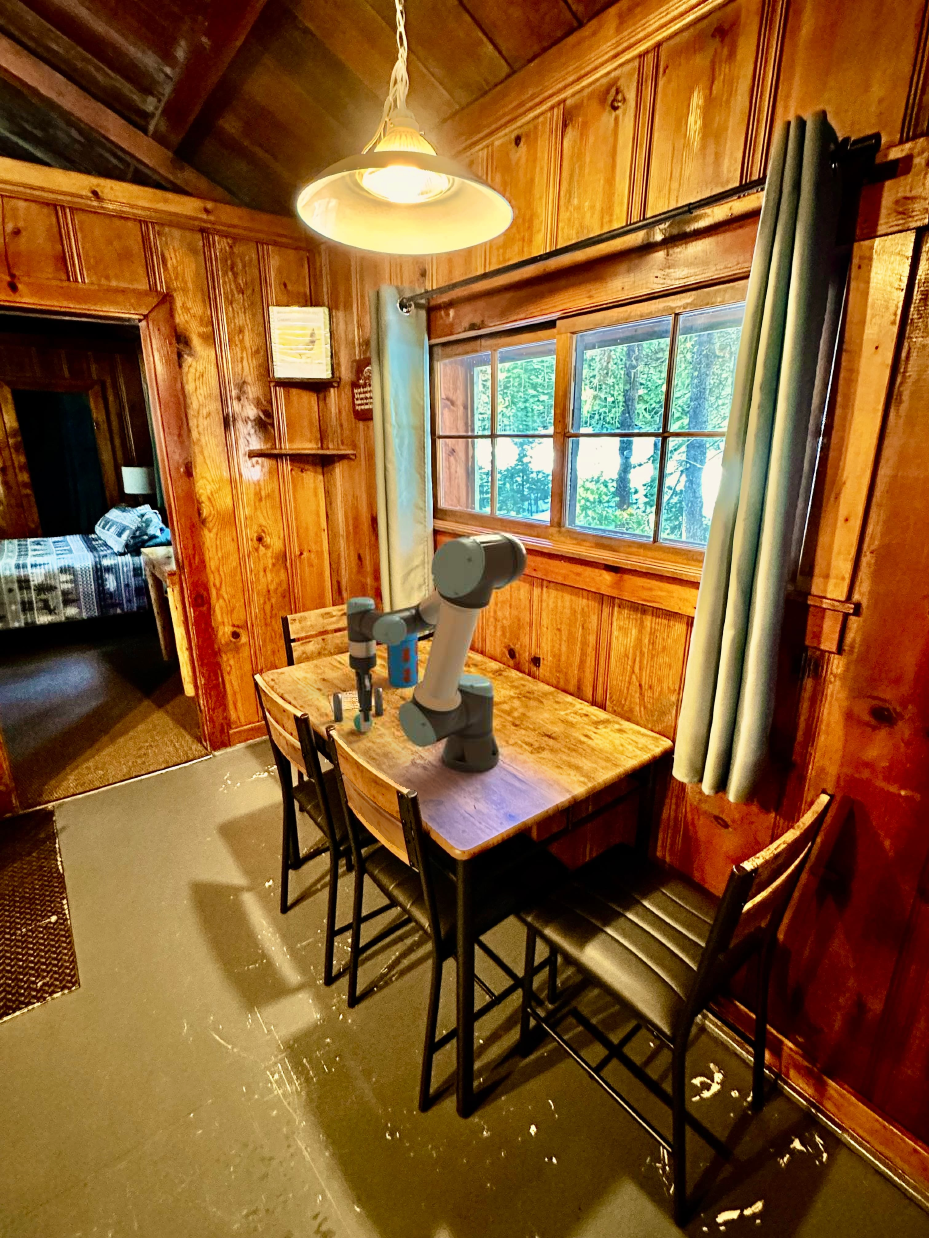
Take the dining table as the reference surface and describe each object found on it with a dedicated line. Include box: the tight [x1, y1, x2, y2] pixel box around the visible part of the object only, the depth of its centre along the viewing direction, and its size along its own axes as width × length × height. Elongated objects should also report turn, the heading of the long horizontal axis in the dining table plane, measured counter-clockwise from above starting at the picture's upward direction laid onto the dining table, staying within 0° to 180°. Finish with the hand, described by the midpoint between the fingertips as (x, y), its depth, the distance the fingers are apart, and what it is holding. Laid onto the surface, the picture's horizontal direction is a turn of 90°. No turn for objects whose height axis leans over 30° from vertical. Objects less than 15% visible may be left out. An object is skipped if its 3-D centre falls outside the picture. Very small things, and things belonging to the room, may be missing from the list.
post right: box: [373, 686, 384, 717], centre depth 179 cm, size 3×3×9 cm
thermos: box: [386, 633, 419, 689], centre depth 202 cm, size 11×11×25 cm
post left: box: [331, 691, 344, 723], centre depth 175 cm, size 3×3×9 cm
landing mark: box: [328, 690, 374, 713], centre depth 191 cm, size 14×14×1 cm
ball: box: [353, 712, 374, 732], centre depth 169 cm, size 6×6×6 cm
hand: (365, 729), depth 165 cm, fingers closed
